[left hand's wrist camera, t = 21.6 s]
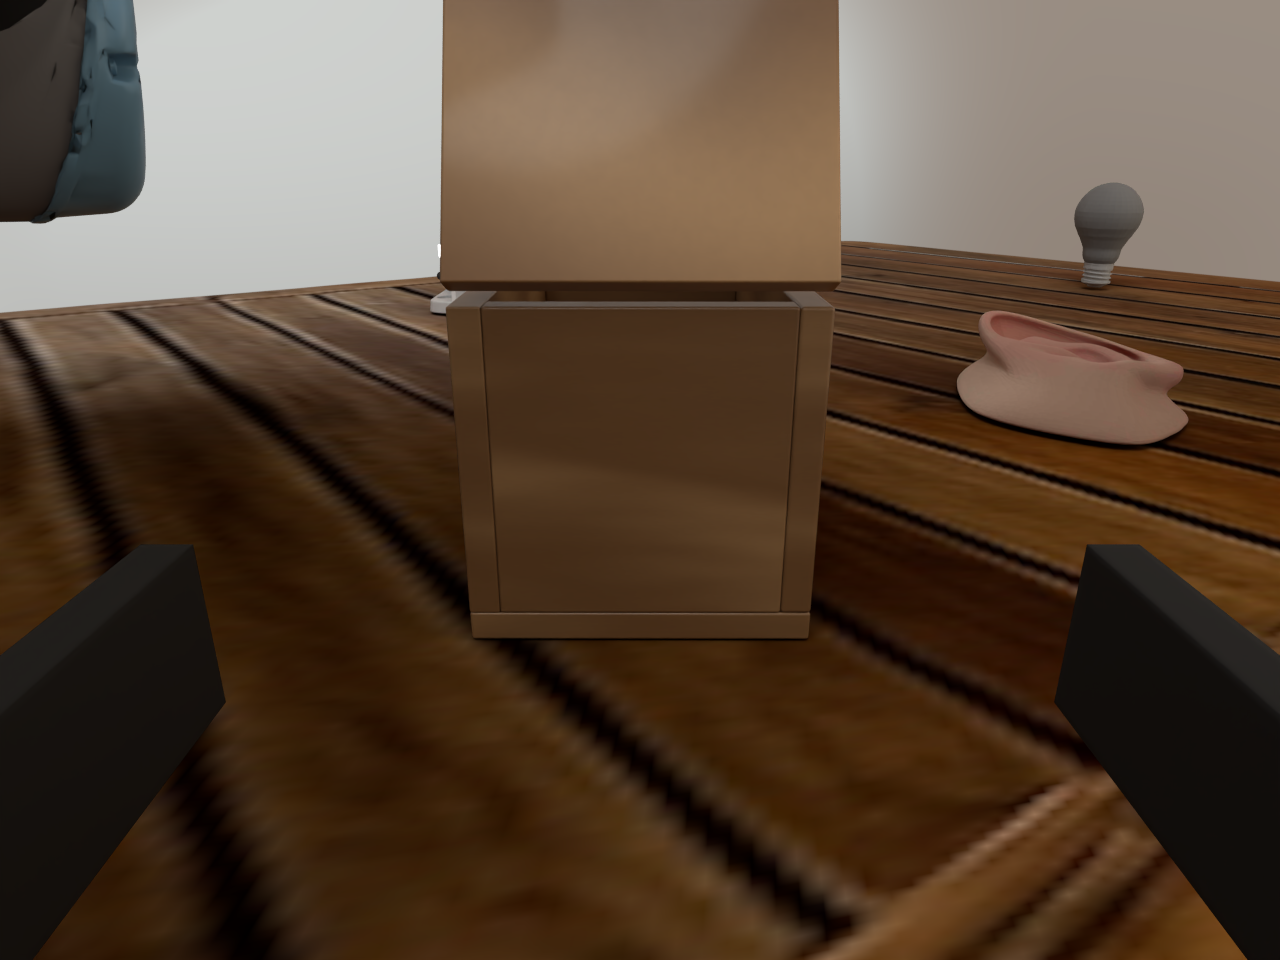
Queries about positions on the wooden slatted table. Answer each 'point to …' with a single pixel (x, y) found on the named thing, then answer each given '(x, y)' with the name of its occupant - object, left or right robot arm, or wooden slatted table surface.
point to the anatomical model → (1070, 383)
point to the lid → (640, 145)
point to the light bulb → (1106, 228)
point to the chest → (640, 460)
